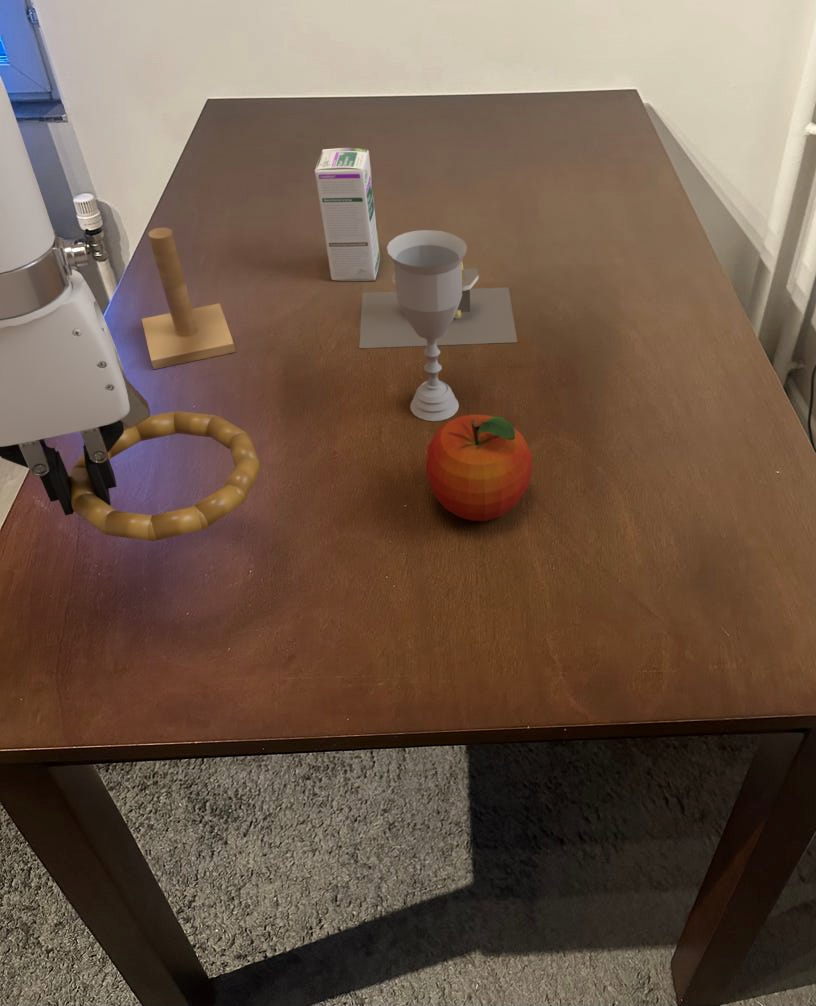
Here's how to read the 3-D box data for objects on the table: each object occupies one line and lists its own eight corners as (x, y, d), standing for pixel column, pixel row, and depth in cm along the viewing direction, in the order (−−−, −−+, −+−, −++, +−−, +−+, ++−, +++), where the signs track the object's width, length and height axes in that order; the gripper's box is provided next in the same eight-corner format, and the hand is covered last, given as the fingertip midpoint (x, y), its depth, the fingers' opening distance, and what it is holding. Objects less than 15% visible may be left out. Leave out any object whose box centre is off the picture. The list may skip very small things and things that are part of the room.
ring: (80, 564, 61) (72, 546, 60) (68, 446, 71) (62, 429, 69) (275, 517, 65) (272, 499, 64) (241, 411, 74) (237, 393, 73)
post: (153, 369, 98) (119, 260, 88) (144, 327, 104) (111, 221, 94) (235, 352, 100) (210, 244, 91) (221, 311, 106) (197, 206, 97)
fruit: (461, 454, 87) (459, 371, 80) (547, 488, 84) (553, 404, 77) (407, 513, 82) (400, 429, 75) (497, 552, 78) (499, 468, 71)
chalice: (478, 394, 94) (477, 237, 82) (456, 432, 90) (451, 273, 77) (414, 380, 96) (404, 225, 84) (389, 418, 92) (374, 259, 79)
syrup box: (376, 281, 111) (365, 167, 101) (329, 281, 111) (313, 167, 101) (380, 258, 115) (370, 147, 105) (335, 258, 115) (320, 147, 105)
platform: (517, 342, 101) (519, 291, 97) (359, 348, 101) (353, 297, 96) (508, 287, 110) (509, 238, 105) (362, 292, 109) (357, 243, 105)
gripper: (128, 227, 58) (188, 444, 71) (-143, 269, 54) (-28, 492, 67) (142, 282, 53) (203, 505, 66) (-156, 333, 49) (-29, 560, 62)
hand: (86, 497), depth 66 cm, fingers closed on ring, 1 cm apart
